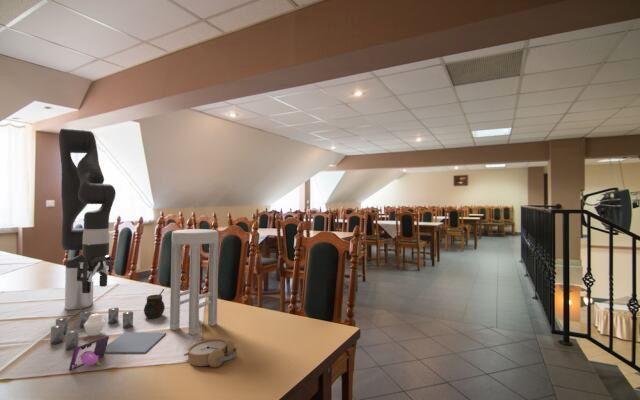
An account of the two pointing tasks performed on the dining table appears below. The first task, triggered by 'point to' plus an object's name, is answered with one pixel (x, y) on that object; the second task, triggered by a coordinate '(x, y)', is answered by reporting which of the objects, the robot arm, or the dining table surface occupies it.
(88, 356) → the game card
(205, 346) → the alarm clock
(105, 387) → the dining table surface
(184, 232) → the stool
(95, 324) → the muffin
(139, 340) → the rubber mat
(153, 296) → the mate gourd
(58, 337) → the posts
